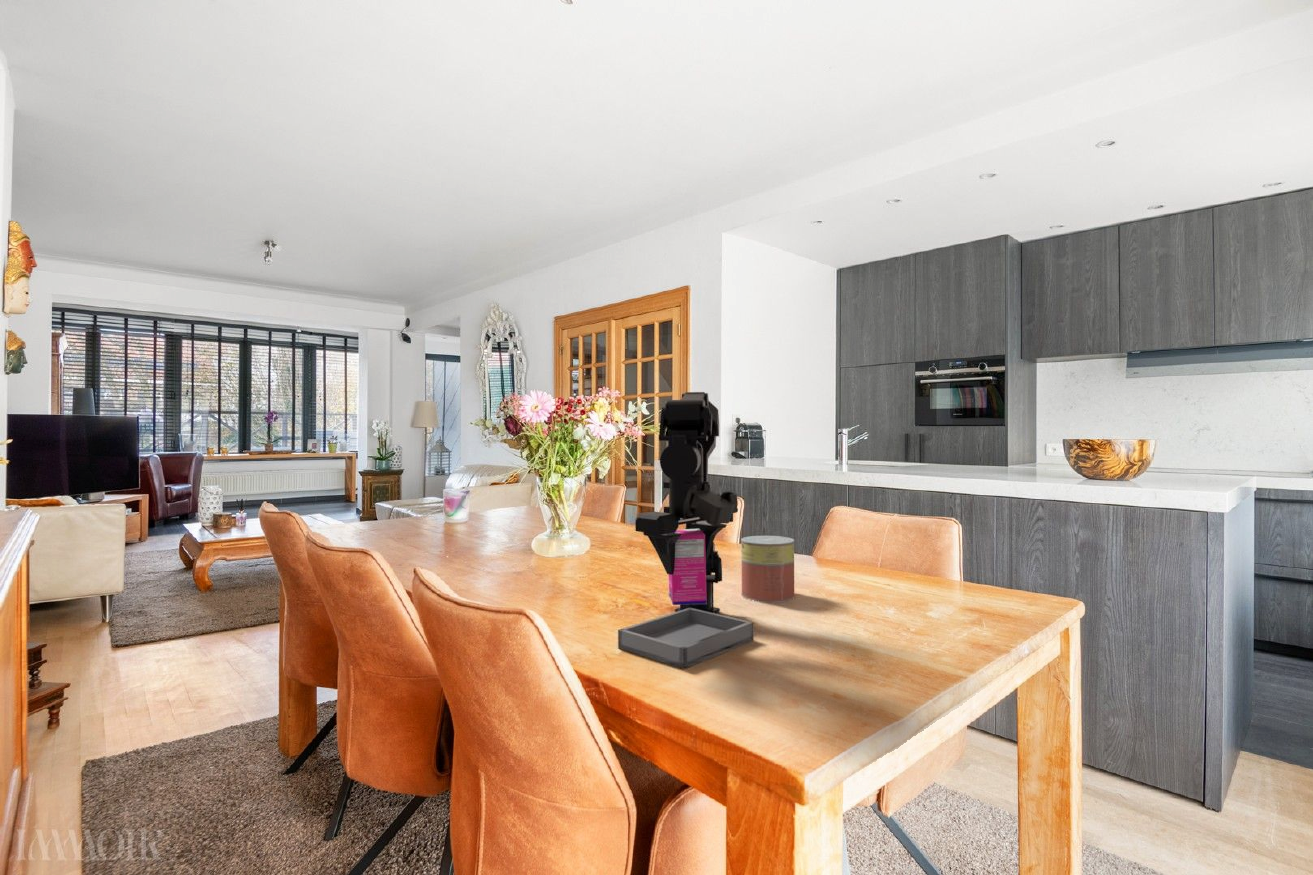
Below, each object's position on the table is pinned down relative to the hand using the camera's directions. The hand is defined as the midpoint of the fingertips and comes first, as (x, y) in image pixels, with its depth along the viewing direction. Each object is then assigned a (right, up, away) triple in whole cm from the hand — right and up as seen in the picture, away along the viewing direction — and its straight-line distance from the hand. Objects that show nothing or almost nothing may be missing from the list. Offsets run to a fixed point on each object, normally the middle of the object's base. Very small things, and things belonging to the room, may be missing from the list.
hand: (686, 570), depth 109 cm
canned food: (+19, -12, +32) cm, 39 cm away
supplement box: (0, -5, 0) cm, 5 cm away
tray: (0, -12, 0) cm, 12 cm away
